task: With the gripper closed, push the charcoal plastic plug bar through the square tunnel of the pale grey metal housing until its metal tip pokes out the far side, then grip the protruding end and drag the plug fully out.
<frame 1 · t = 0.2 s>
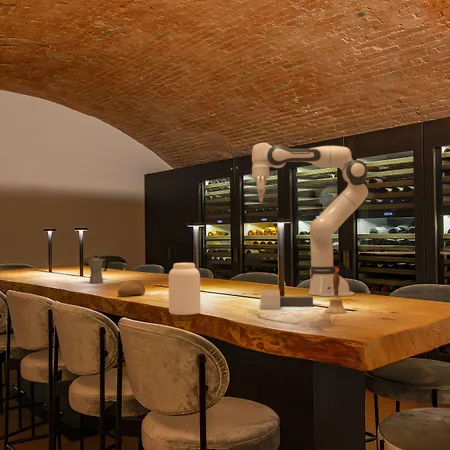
hand: (261, 201, 266), 48 cm above the table, fingers open, 8 cm apart
housing: (270, 306, 223), on the table
bread roll: (132, 296, 266), on the table
coffeepot: (97, 283, 336), on the table
hand bell: (336, 312, 205), on the table
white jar: (184, 313, 207), on the table
plug bar: (293, 306, 223), on the table
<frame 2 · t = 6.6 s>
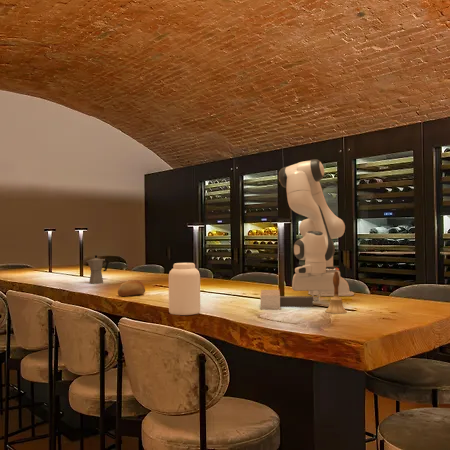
hand: (316, 301, 222), 2 cm above the table, fingers closed
plug bar: (293, 306, 223), on the table, touching gripper
everything else where it was.
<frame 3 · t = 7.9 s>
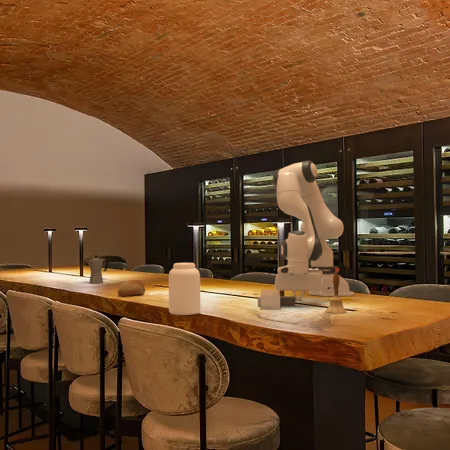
hand: (298, 301, 222), 2 cm above the table, fingers closed
plug bar: (276, 306, 223), on the table, touching gripper
everything else where it was.
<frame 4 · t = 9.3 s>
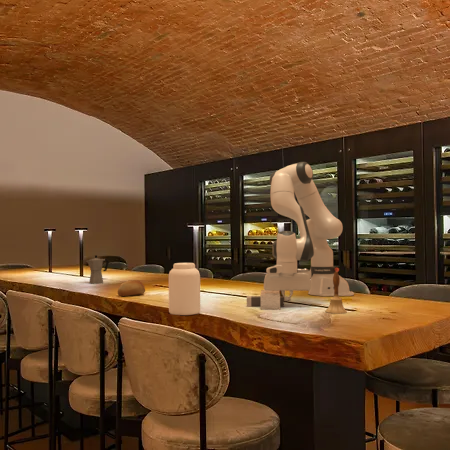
hand: (287, 301, 223), 2 cm above the table, fingers closed
plug bar: (265, 306, 224), on the table, touching gripper
everything else where it was.
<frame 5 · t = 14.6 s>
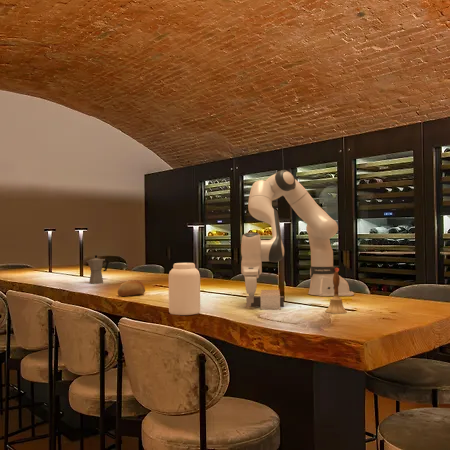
hand: (251, 301, 224), 2 cm above the table, fingers closed on plug bar, 4 cm apart
plug bar: (265, 306, 224), on the table, touching gripper
everything else where it was.
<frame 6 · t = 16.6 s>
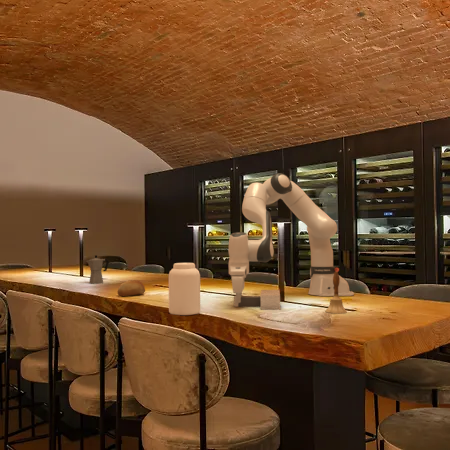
hand: (239, 301, 225), 2 cm above the table, fingers closed on plug bar, 4 cm apart
plug bar: (252, 305, 224), on the table, touching gripper
everything else where it was.
when the fingers open (2 cm above the table, at t = 18.8 s): plug bar stays where it is, on the table.
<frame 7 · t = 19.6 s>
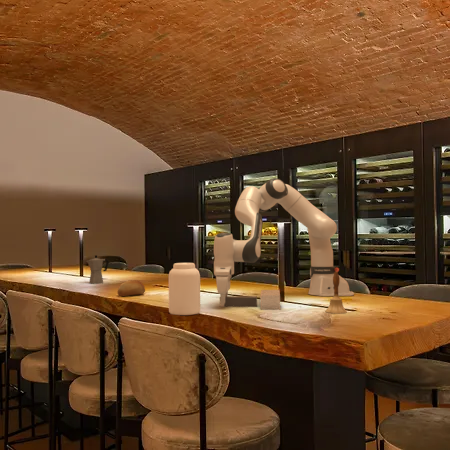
hand: (224, 301, 225), 2 cm above the table, fingers open, 8 cm apart
plug bar: (238, 306, 225), on the table
everything else where it was.
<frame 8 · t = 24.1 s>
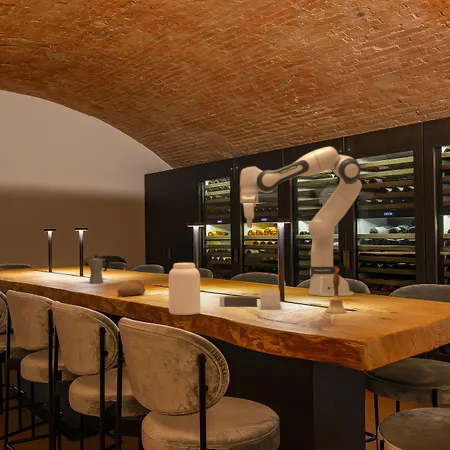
hand: (249, 227, 255), 34 cm above the table, fingers open, 8 cm apart
nothing on the table moved.
at the end: plug bar inside the target area (5.2 cm from its centre), on the table; the gripper is holding nothing; plug bar tilted 0° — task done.
